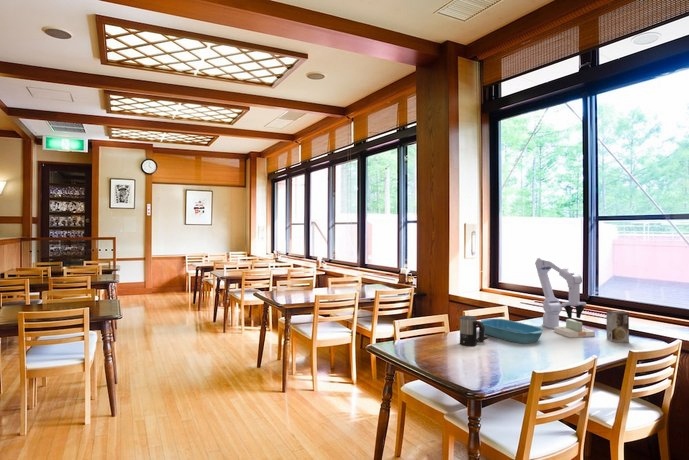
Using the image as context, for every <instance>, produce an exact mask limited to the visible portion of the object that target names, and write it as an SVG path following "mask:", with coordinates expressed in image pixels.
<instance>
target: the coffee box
mask: <svg viewBox="0 0 689 460" xmlns="http://www.w3.org/2000/svg"><path fill="white" fill-rule="evenodd" d="M629 317H630V315H629V312H626V311H624V310H606V339H607V340H608V341H610V342H613V343H614V342H615V343H629V342H630V318H629Z"/></svg>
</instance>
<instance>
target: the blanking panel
mask: <svg viewBox="0 0 689 460" xmlns="http://www.w3.org/2000/svg"><path fill="white" fill-rule="evenodd" d="M565 327H566V328H568V329H571V330H574V331H577V332H579V331H582V327H583V322H582V321H578V320H575V319H572V318H571V319H570V318H566V319H565Z"/></svg>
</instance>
